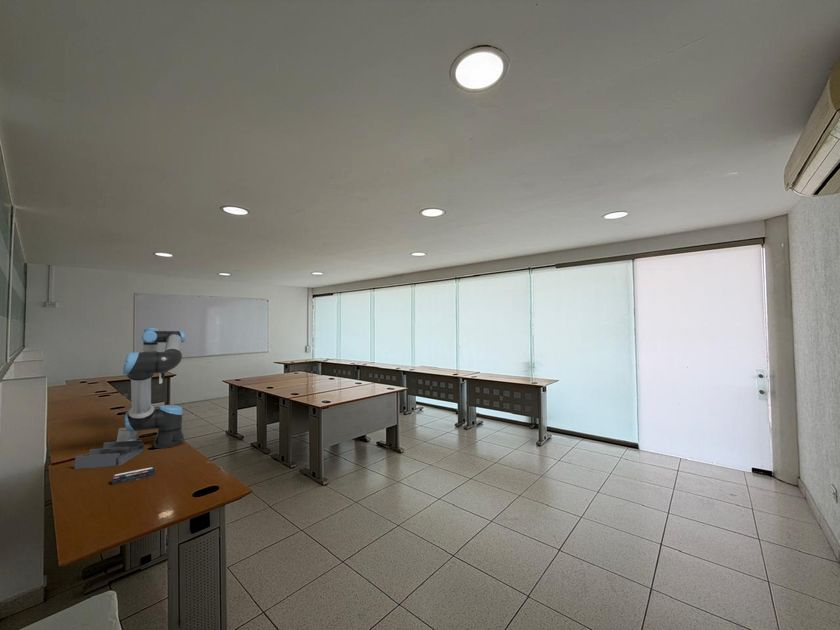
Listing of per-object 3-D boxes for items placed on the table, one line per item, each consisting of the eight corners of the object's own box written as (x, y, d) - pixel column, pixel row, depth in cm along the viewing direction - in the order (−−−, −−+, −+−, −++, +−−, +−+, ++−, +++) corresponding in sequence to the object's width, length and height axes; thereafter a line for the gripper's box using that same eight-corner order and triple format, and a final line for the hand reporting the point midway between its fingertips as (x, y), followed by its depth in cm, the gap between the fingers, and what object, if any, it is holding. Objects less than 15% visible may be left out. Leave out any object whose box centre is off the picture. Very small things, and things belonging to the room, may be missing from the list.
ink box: (114, 449, 192) (117, 428, 195) (123, 447, 198) (126, 426, 200) (127, 449, 191) (130, 428, 193) (136, 447, 196) (139, 426, 198)
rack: (144, 450, 191) (144, 439, 191) (120, 465, 169) (121, 453, 170) (104, 453, 186) (104, 442, 186) (74, 469, 164) (75, 456, 165)
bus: (162, 479, 156) (163, 470, 156) (88, 495, 140) (88, 485, 140) (161, 469, 167) (161, 460, 167) (91, 483, 151) (92, 473, 151)
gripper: (174, 350, 224) (173, 382, 223) (130, 351, 217) (128, 383, 215) (169, 351, 217) (168, 384, 215) (123, 351, 209) (121, 385, 208)
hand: (148, 383), depth 215 cm, fingers open, 13 cm apart
